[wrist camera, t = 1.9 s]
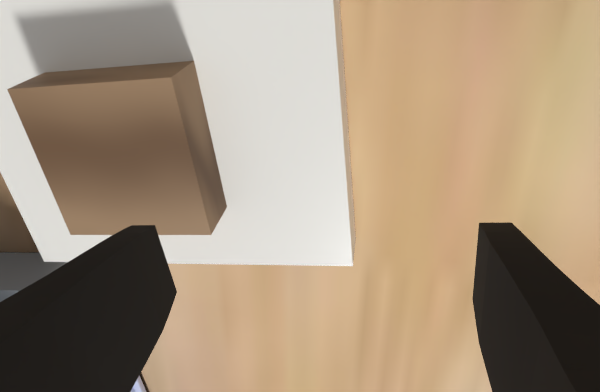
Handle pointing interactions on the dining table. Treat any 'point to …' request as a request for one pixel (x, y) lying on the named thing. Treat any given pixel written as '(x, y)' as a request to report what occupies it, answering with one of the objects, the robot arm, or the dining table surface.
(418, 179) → the dining table surface
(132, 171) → the tile
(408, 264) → the dining table surface
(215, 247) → the board
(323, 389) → the dining table surface
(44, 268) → the box
